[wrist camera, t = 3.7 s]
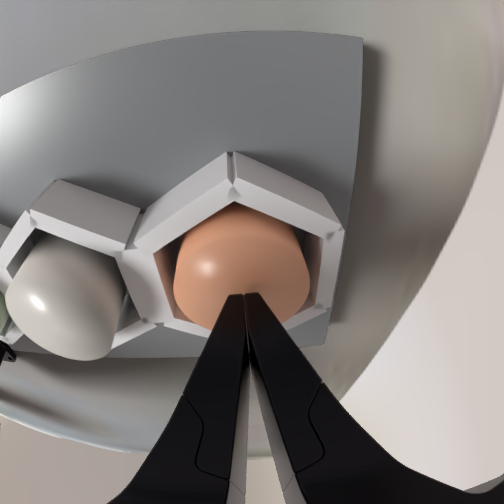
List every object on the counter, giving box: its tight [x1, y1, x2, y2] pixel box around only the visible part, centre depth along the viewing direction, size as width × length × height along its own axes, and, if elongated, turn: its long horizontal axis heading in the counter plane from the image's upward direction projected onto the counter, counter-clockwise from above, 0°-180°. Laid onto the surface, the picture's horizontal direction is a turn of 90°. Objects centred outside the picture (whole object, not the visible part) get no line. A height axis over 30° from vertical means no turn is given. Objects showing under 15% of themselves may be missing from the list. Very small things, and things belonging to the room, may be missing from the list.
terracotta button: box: [173, 201, 310, 330], centre depth 10 cm, size 4×4×2 cm
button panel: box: [0, 31, 363, 358], centre depth 10 cm, size 20×14×4 cm
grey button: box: [5, 233, 127, 361], centre depth 9 cm, size 4×4×2 cm
